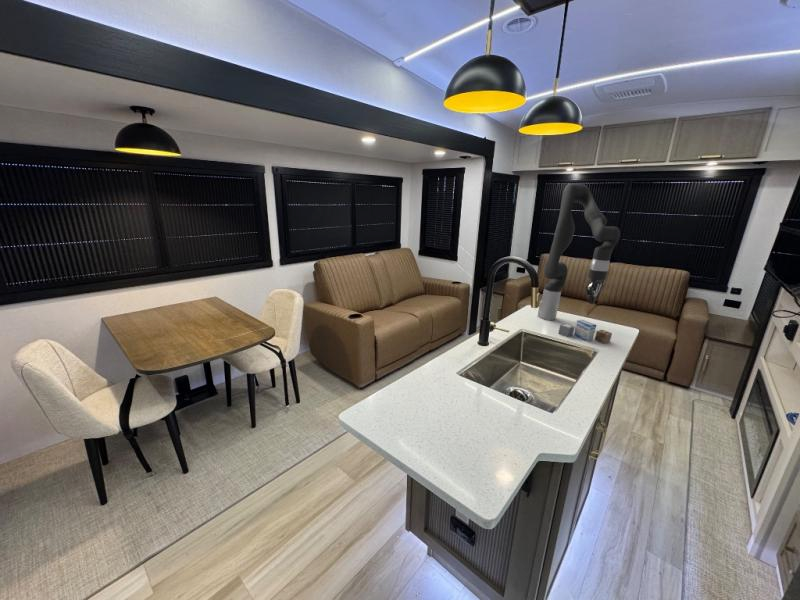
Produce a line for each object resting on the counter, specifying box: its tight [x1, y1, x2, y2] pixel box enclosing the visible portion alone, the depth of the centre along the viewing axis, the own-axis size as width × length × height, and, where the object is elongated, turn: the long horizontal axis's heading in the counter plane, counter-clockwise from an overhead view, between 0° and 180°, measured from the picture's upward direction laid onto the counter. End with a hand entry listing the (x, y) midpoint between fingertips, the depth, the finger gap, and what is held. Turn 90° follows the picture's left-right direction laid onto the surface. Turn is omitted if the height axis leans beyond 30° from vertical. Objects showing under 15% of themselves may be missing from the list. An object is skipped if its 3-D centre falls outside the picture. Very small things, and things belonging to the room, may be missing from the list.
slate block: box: [558, 323, 576, 338], centre depth 166 cm, size 5×5×5 cm
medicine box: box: [573, 319, 597, 342], centre depth 162 cm, size 8×4×9 cm, turn 25°
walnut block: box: [594, 329, 613, 345], centre depth 160 cm, size 5×5×5 cm
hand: (591, 303), depth 158 cm, fingers closed
